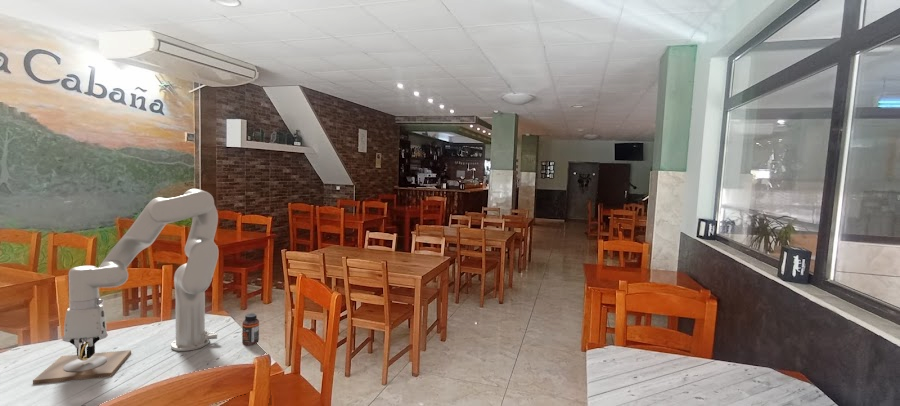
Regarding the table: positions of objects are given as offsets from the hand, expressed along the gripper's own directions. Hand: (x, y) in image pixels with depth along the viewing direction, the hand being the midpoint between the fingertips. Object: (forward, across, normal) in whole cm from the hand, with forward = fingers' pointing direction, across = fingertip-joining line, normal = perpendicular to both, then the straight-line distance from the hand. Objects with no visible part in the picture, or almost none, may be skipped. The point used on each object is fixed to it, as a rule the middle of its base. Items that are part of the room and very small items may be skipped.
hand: (86, 356), depth 141 cm
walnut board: (+4, 0, 0) cm, 4 cm away
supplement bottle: (+4, -49, -9) cm, 50 cm away
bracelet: (+1, 0, 0) cm, 1 cm away
